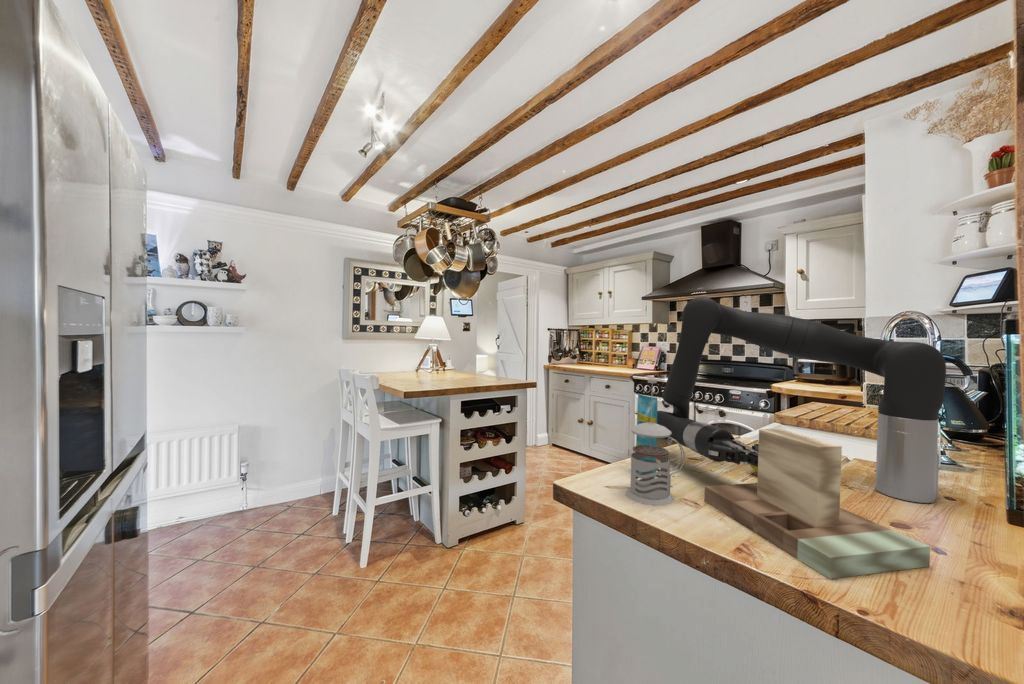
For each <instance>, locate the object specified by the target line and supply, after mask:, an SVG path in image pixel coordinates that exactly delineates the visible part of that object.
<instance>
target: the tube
mask: <svg viewBox="0 0 1024 684" xmlns="http://www.w3.org/2000/svg"><path fill="white" fill-rule="evenodd" d="M651 399H652V422H653V423H656V424H657V411H658V397H654V396H649V395H644V394H640V393H637V412H636V413H637V414H636V417H637V418H636V425H638V424H641V423H649V422H651ZM635 441H636V444H635V446H638V445H648V446H649V445H650V437H644V436H639V435H636V440H635ZM657 443H658V438H652V437H651V446H652V445H653V446H656V447H658V444H657ZM644 460H654V461H656V462H657V460H658V459H656V458H654V457H644V458H643V459H641V460H640V461H644ZM636 470H637V469H636ZM651 471H652V472H657V471H656V470H651ZM641 473H643V472H638V474H641ZM646 475H648V474H646ZM652 478H655V476H652Z"/></svg>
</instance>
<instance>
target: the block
mask: <svg viewBox="0 0 1024 684" xmlns="http://www.w3.org/2000/svg"><path fill="white" fill-rule="evenodd" d="M758 430H759V431H758V444H759V450H758V473H757V482H756V483H757V497H759V498H761V499H763V500H765V501H767V502H769V503H771V504H773V505H775V506H777V507H778V508H780V509H782V510H784V511H786V512H788V513H790V514H792V515H794V516H796V517H798V518H800V519H802V520H804V521H806V522H808V523H810V524H812V525H814V526H816V527H820V526H831V525H839V512H840V508H841V503H840V502H841V478H842V453H843V451H842V449H843V448H842V447H843V446H842V445H840V444H839V445H838V444H835V443H832V442H828V441H825V440H820V439H817V438H813V437H810V436H807V435H803V434H799V433H796V432H792V431H789V430H785V429H782V428H766V429H764V428H763V429H761V428H760V429H758Z"/></svg>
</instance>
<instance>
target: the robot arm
mask: <svg viewBox="0 0 1024 684" xmlns="http://www.w3.org/2000/svg"><path fill="white" fill-rule="evenodd" d="M681 321H682V322H681V328H680V329H681V330H680V337H679V342H678V345H677V349H676V353H675V356H674V358H673V362H672V365H671V368H670V371H669V373H668V376H667V380H666V382H665V386H664V389H663V393H662V400H663V401H664V402H665V403H666V404H667V405H670V406H672V409H673V410H672V412H670V411H669V412H668V411H664V410H657V424H659V425H661V426H664V427H666V428H667V429H668V430H670V431H671V433H672V434H671V436H669V437H672V438H673V439H675V440H676V441H677V442H679V443H680V444H681V445H682V447H686V448H687V449H689V450H691V451H693V452H695V453H696V454H698V455H701V456H702V457H704V458H707V459H709V460H711V461H713V462H716V463H723V462H728V463H732V464H735V465H739V464H741V463H742V464H744V465H750V464H751V465H754V466H756V467H758V450H759V443H754V444H751V446H750V445H748V444H746V443H744V442H742V441H741V440H738V439H735V437H734V435H733V434H732V433H731V432H730V431H728V430H727V429H725V428H721V427H719V426H715V425H713V424H709V423H706V422H699V421H697V420H695V419H691V418H690V404H691V399H692V395H693V392H694V389H695V387H696V383H697V379H698V374H699V370H700V365H701V360H702V358H703V357H702V356H703V353H704V350H705V348H706V345H707V342H708V340H709V338H710V336H711V334H714V335H715V334H716V335H721V336H726V337H727V336H728V337H731V338H736V339H738V340H742V341H745V342H747V343H749V344H752V345H755V346H758V347H761V348H763V349H767V350H769V351H772V352H776V353H779V354H780V353H781V354H782V355H789V356H791V357H794V358H795V357H796V358H801V359H806V360H811V361H815V362H817V361H818V362H824V363H829V364H830V363H831V364H840V365H842V366H843V365H845V366H848V367H852V368H855V369H859V370H862V371H865V372H868V373H871V374H873V375H875V376H879V377H882V378H884V381H883V382H884V384H883V394H882V396H881V398H880V400H879V401H878V405H877V406H878V408H877V431H876V432H877V435H876V437H877V438H876V460H875V461H876V462H875V463H876V464H875V466H876V467H875V488H874V489H875V490H876V491H877V492H879V493H881V494H884V495H886V496H889V497H892V498H895V499H898V500H903V501H907V502H914V503H923V504H930V503H932V504H933V503H935V502H936V500H937V499H938V498H939V497H938V495H939V493H938V492H939V476H940V475H939V471H940V470H939V469H940V455H939V454H938V444H939V443H938V440H939V439H938V438H939V434H938V433H939V418H940V417H939V414H940V410H941V409H942V407H943V405H944V401H945V391H946V390H945V389H946V379H947V364H946V360H945V357H944V355H943V354H942V353H941V351H940V350H939V349H938V348H937V347H934V346H933V345H931V344H928V343H924V342H917V341H894V340H885V339H879V338H874V337H867V336H866V337H865V336H861V335H857V334H853V333H851V332H848V331H844V330H841V329H839V328H836V327H833V326H830V325H827V324H824V323H822V322H817V321H814V320H809V319H805V318H801V317H795V316H793V315H792V316H791V315H785V314H779V313H778V314H777V313H769V312H755V311H754V312H753V311H747V310H746V311H745V310H743V309H738V308H734V307H730V306H727V305H724V304H722V303H718V302H717V301H715V300H714V299H712V298H710V297H707V296H698V297H695V298H693V299H690V300H689V301H688V302H687V303H686V305H684V307H683V310H682V320H681ZM669 437H665V438H663V439H664V440H667V441H668V438H669ZM670 440H671V438H670V439H669V441H670ZM673 442H674V443H677V442H675V441H673Z"/></svg>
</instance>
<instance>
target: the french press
mask: <svg viewBox="0 0 1024 684" xmlns="http://www.w3.org/2000/svg"><path fill="white" fill-rule="evenodd" d="M647 383H648V384H651V397H654V396H653V392H654V391H653V389H654V385H653V384H657V383H658V381H657V378H656V377H653V376H651V377H649V378H647ZM630 430H631V432H632V434H635V435H636V436H637V435H639V436H644V437H650V445H649V446H648V445H638V446H636V445H635V446H633V447H632V450H633V453H631V455H630V486H629V487H628V488H627V489H626V490H625V496H627V498H628V499H631V500H632V501H633V502H636V503H640V504H643V505H649V506H654V507H655V506H657V507H659V506H667V505H671V504H673V503H674V502H675V498H674V495H673V494H672V493H671V477H672V475H674V474H677V473H678V472H679V471H681V470H682V468H683V466H684V464H685V461H686V460H685V459H686V453H685V450H684V448H683V447H684V446H683V445H681V444H680V443H679V442H677V441H676V440H675V439H673V438H672V437H669V436H671V434H672V433H671V431H670V430H668V429H667V428H666V427H664V426H661V425H659V424H656V423H653V422H652V399H651V422H649V423H641V424H638V425H637V424H635V425H634V426H633V427H631V429H630ZM651 437H652V438H657V439H660V438H661V439H664V438H665V437H669V438H668V440H667V445H669V446H672V442H674V441H675V442H674V443H676V444H677V445H678V446H679V449H680V450H679V451H680V458H679V462H678V464H677V465H676V466H675V467H674V468H672V469H671V460H670V458H669V456H667V455H669V450H668V449H666V448H664V447H661V446H658V445H657V447H656V446H653V445H652V446H651ZM670 438H671V440H669V439H670ZM644 457H654V458H656V459H657V460H658V461H659V462H656V461H654V460H644V461H640V460H641V459H643V458H644ZM681 462H682V463H681ZM680 464H681V466H680ZM679 467H680V468H679ZM636 469H637V470H636ZM676 469H678V470H676ZM651 470H656V472H652V471H651ZM675 470H676V471H675ZM672 471H674V472H672ZM638 472H643V473H641V474H638ZM671 472H672V473H671ZM646 474H648V475H646ZM652 476H654V477H652ZM655 477H657V478H655Z"/></svg>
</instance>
